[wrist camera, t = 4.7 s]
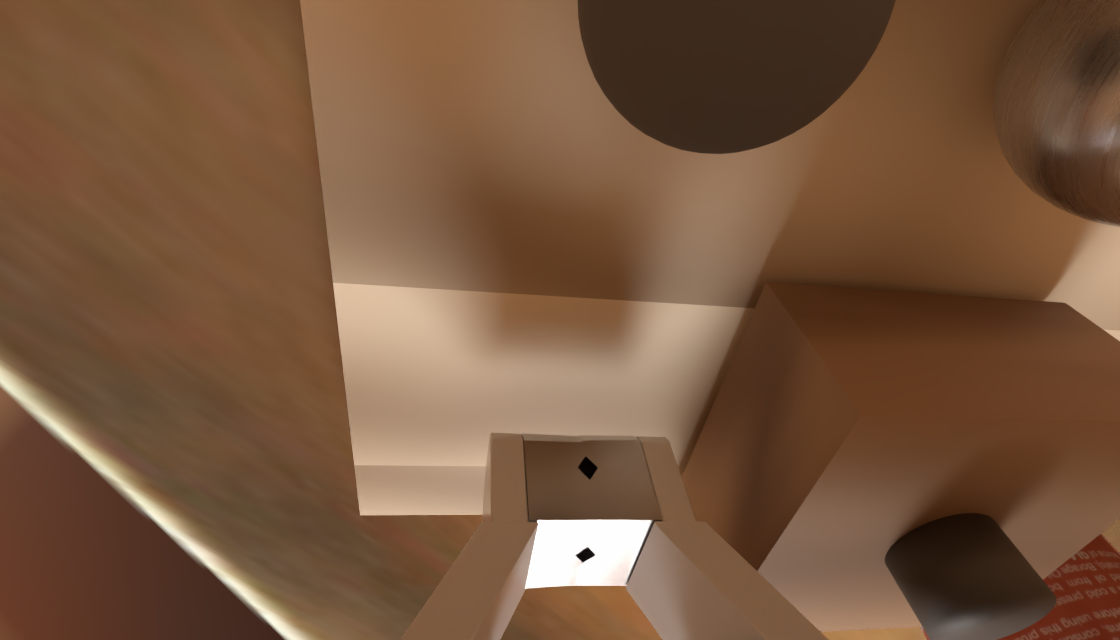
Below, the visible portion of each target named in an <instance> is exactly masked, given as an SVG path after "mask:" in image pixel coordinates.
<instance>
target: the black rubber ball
mask: <svg viewBox="0 0 1120 640" xmlns="http://www.w3.org/2000/svg"><path fill="white" fill-rule="evenodd" d="M895 1H896V0H578V19H579V26H580V33H581V39H582V42H583V46H584V50H585V53H586V57H587V60H588V63H589V65H590V68H591V70H592V72H593V75H594V77H595V79H596V81H597V83H598V84H599V86H600V88H601V90H602V91H603V93H604V95H605V96H606V97H607V99H608V100H609V101H610V102H611V104H612V105H613V106H614V108H615V109H616V110H617V111H618V112H619V113H620V114H621V115H622V116H623V117H624V118H625V119H626V120H627V121H628V122H629V123H630V124H631V125H633V126H634V127H636V128H637V129H638V130H640V131H641V132H643V133H644V134H645V135H647V136H649V137H651V138H653V139H655V140H657V141H659V142H661V143H663V144H665V145H668V146H671V147H674V148H677V149H680V150H685V151H690V152H696V153H706V154H727V153H737V152H742V151H747V150H751V149H755V148H759V147H762V146H765V145H768V144H771V143H773V142H776V141H778V140H781V139H783V138H785V137H787V136H789V135H791V134H793V133H795V132H796V131H798V130H800V129H801V128H803V127H805V126H806V125H808V124H809V123H811V122H812V121H813V120H815V119H816V118H817V117H819V116H820V115H821V114H823V113H824V112H825V111H826V110H827V109H828V108H829V107H830V106H831V105H832V104H834V103H835V102H836V101H837V100H838V99H839V98H840V97H841V96H842V95H843V94H844V92H845V91H846V90H847V89H848V88H849V87H850V86H851V85H852V84H853V82H854V81H855V80H856V78H857V77H858V76H859V74H860V73H861V72H862V71H863V69H864V68H865V66H866V65H867V63H868V61H869V60H870V58H871V57H872V55H873V53H874V52H875V50H876V48H877V46H878V44H879V42H880V40H881V38H882V36H883V34H884V32H885V30H886V27H887V24H888V22H889V19H890V17H891V14H892V11H893V8H894V4H895Z"/></svg>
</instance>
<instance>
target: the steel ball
mask: <svg viewBox="0 0 1120 640" xmlns="http://www.w3.org/2000/svg"><path fill="white" fill-rule="evenodd" d="M994 124H995V131H996V135H997V138H998V141H999V144H1000V147H1001V150H1002V153H1003V155H1004V156H1005V158H1006V160H1007V162H1008V163H1009V165H1010V166H1011V168H1012V169H1013V171H1014V173H1015V174H1016V175H1017V176H1018V177H1019V178H1020V179H1021V180H1022V181H1023V182H1024V183H1025V184H1026V185H1027V186H1028V187H1029V188H1030V189H1031V190H1032V191H1033V192H1034V193H1035V194H1037V195H1038V196H1040V197H1041V198H1043V199H1044V200H1046V201H1047V202H1049V203H1051V204H1052V205H1054V206H1055V207H1057V208H1059V209H1061V210H1064V211H1066V212H1068V213H1070V214H1073V215H1075V216H1078V217H1080V218H1083V219H1086V220H1090V221H1093V222H1097V223H1101V224H1105V225H1111V226H1116V227H1120V0H1041V1H1040V2H1039V3H1038V5H1037V6H1036V7H1035V8H1034V9H1033V11H1032V12H1031V13H1030V15H1029V16H1028V17H1027V19H1026V20H1025V21H1024V23H1023V24H1022V26H1021V28H1020V29H1019V31H1018V32H1017V34H1016V36H1015V37H1014V39H1013V41H1012V43H1011V45H1010V47H1009V49H1008V51H1007V54H1006V56H1005V58H1004V61H1003V63H1002V66H1001V69H1000V73H999V76H998V79H997V83H996V88H995V94H994Z"/></svg>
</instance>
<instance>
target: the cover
mask: <svg viewBox="0 0 1120 640" xmlns="http://www.w3.org/2000/svg"><path fill="white" fill-rule="evenodd" d="M682 480H683V483H684V486H685V489H686V492H687V495H688V498H689V500H690V503H691V506H692V509H693V512H694V515H695V518H696V521H705V522H706V523H707V524H708V525H709V526H710V527H712V528H713V529H714V530H715V531H716V532H717V533H718V534H719V535H720V536H721V537H722V538H723V539H724V540H725V541H726V542H727V543H728V544H729V545H730V546H731V547H732V548H733V549H734V550H736V551H737V552H738V553H739V554H740V555H741V556H742V557H743V558H744V559H745V560H746V561H747V562H748V563H749V564H750V565H751V566H752V567H753V568H754V569H755V570H756V571H757V572H758V573H760V574H761V575H762V576H763V577H764V578H765V579H766V580H767V581H768V582H769V583H770V584H771V585H772V586H773V587H774V588H775V589H776V590H777V591H778V592H779V593H780V594H781V595H782V596H784V597H785V598H786V599H787V600H788V601H789V602H790V603H791V604H792V605H793V606H794V607H795V608H796V609H797V610H798V611H799V612H800V613H801V614H802V615H803V616H804V617H805V618H806V619H808V620H809V621H810V622H811V623H812V624H813V625H814V626H815V627H816V628H817V629H818V630H819V631H820V632H823V631H845V630H867V629H889V628H911V627H923V629H924V630H925V632H926V634H927V635H928V637H929V639H930V640H997V639H1000V638H1003V637H1006V636H1009V635H1011V634H1014V633H1016V632H1019V631H1021V630H1023V629H1025V628H1027V627H1029V626H1031V625H1032V624H1034V623H1036V622H1037V621H1039V620H1040V619H1042V618H1043V617H1045V616H1046V615H1047V614H1048V613H1049V612H1050V611H1051V610H1052V609H1053V608H1054V606H1055V604H1056V601H1057V598H1056V596H1055V594H1054V593H1053V592H1052V591H1051V589H1050V588H1049V587H1048V586H1047V584H1046V583H1045V582H1044V581H1043V579H1044V578H1046V577H1047V576H1048V575H1049V574H1051V573H1052V572H1053V571H1054V570H1056V569H1057V568H1058V567H1059V566H1061V565H1062V564H1063V563H1065V562H1066V561H1067V560H1068V559H1070V558H1071V557H1072V556H1073V555H1075V554H1076V553H1077V552H1078V551H1080V550H1081V549H1082V548H1083V547H1085V546H1086V545H1087V544H1088V543H1090V542H1091V541H1092V540H1094V539H1095V538H1096V537H1097V536H1099V535H1100V534H1101V533H1102V532H1104V531H1105V530H1106V529H1107V528H1109V527H1110V526H1111V525H1112V524H1114V523H1115V522H1116V521H1117V520H1119V519H1120V341H1119V340H1117V339H1116V338H1114V337H1113V336H1112V335H1110V334H1109V333H1107V332H1106V331H1104V330H1103V329H1102V328H1100V327H1099V326H1097V325H1096V324H1095V323H1093V322H1092V321H1090V320H1089V319H1087V318H1086V317H1085V316H1083V315H1082V314H1080V313H1079V312H1078V311H1076V310H1075V309H1073V308H1072V307H1071V306H1069V305H1068V304H1066V303H1062V302H1047V301H1033V300H1019V299H1004V298H990V297H975V296H961V295H947V294H932V293H918V292H904V291H889V290H875V289H861V288H846V287H832V286H817V285H803V284H789V283H774V282H766V283H765V286H764V288H763V290H762V293H761V295H760V297H759V300H758V302H757V304H756V307H755V309H754V311H753V313H752V316H751V318H750V320H749V323H748V325H747V327H746V330H745V332H744V334H743V337H742V339H741V341H740V343H739V346H738V348H737V350H736V353H735V355H734V357H733V360H732V362H731V364H730V367H729V369H728V371H727V374H726V376H725V378H724V380H723V383H722V385H721V387H720V390H719V392H718V394H717V397H716V399H715V401H714V404H713V406H712V408H711V410H710V413H709V415H708V417H707V420H706V422H705V424H704V427H703V429H702V431H701V434H700V436H699V438H698V441H697V443H696V445H695V447H694V450H693V452H692V454H691V457H690V459H689V461H688V464H687V466H686V468H685V471H684V473H683V475H682Z"/></svg>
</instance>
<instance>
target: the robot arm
mask: <svg viewBox="0 0 1120 640" xmlns="http://www.w3.org/2000/svg"><path fill="white" fill-rule="evenodd" d="M575 585H576V586H627V587H626V589H627V591H628V592H629V594H630V595H631V596H632V598H633V599H634V601H635V602H636V603H637V605H638V606H639V607H640V609H641V610H642V612H643V613H644V614H645V616H646V617H647V619H648V620H649V621H650V623H651V624H652V626H653V627H654V628H655V630H656V631H657V632H658V634H659V635H660V637H661V638H662V639H663V640H828V639H827V638H826V637H825V636H824V635H823V634H822V633H821V632H820V631H819V630H818V629H817V628H816V627H815V626H814V625H813V624H812V623H811V622H810V621H809V620H808V619H806V618H805V617H804V616H803V615H802V614H801V613H800V612H799V611H798V610H797V609H796V608H795V607H794V606H793V605H792V604H791V603H790V602H789V601H788V600H787V599H786V598H785V597H784V596H782V595H781V594H780V593H779V592H778V591H777V590H776V589H775V588H774V587H773V586H772V585H771V584H770V583H769V582H768V581H767V580H766V579H765V578H764V577H763V576H762V575H761V574H760V573H758V572H757V571H756V570H755V569H754V568H753V567H752V566H751V565H750V564H749V563H748V562H747V561H746V560H745V559H744V558H743V557H742V556H741V555H740V554H739V553H738V552H737V551H736V550H734V549H733V548H732V547H731V546H730V545H729V544H728V543H727V542H726V541H725V540H724V539H723V538H722V537H721V536H720V535H719V534H718V533H717V532H716V531H715V530H714V529H713V528H712V527H710V526H709V525H708V524H707V523H706V522H705V521H696V518H695V515H694V512H693V509H692V506H691V503H690V500H689V498H688V495H687V492H686V489H685V486H684V483H683V480H682V477H681V474H680V471H679V468H678V465H677V462H676V459H675V456H674V453H673V450H672V447H671V445H670V442H669V441H668V439H667V438H666V437H646V436H637V437H635V436H602V435H579V436H565V435H544V434H524V433H522V434H516V433H491V434H490V436H489V444H488V453H487V462H486V470H485V482H484V496H483V522H481V524H480V525H479V527H478V528H477V529H476V531H475V532H474V534H473V535H472V537H471V538H470V540H469V541H468V542H467V544H466V545H465V547H464V548H463V550H462V551H461V553H460V554H459V556H458V557H457V558H456V560H455V561H454V563H453V564H452V566H451V567H450V569H449V570H448V571H447V573H446V574H445V576H444V577H443V579H442V580H441V582H440V583H439V584H438V586H437V587H436V589H435V590H434V592H433V593H432V595H431V596H430V598H429V599H428V600H427V602H426V603H425V605H424V606H423V608H422V609H421V611H420V612H419V613H418V615H417V616H416V618H415V619H414V621H413V622H412V624H411V625H410V627H409V628H408V629H407V631H406V632H405V634H404V635H403V637H402V638H401V640H500V639H501V637H502V635H503V633H504V631H505V629H506V627H507V625H508V623H509V621H510V619H511V617H512V615H513V613H514V611H515V609H516V607H517V605H518V603H519V601H520V599H521V597H522V595H523V593H524V591H525V588H538V587H557V586H575Z"/></svg>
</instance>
